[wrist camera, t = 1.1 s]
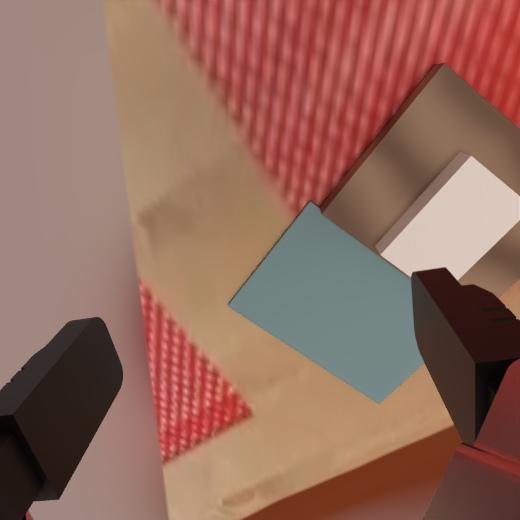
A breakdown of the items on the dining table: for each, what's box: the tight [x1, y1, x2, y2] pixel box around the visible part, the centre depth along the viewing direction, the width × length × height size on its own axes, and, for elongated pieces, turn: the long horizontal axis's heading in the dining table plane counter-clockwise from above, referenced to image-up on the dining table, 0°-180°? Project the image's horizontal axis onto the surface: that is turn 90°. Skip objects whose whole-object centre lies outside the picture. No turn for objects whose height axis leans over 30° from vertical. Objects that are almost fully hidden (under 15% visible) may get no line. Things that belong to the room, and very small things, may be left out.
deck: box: [320, 63, 520, 298], centre depth 32 cm, size 13×16×2 cm
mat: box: [228, 201, 424, 404], centre depth 37 cm, size 12×18×1 cm, turn 54°
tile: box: [375, 152, 520, 281], centre depth 31 cm, size 9×6×2 cm, turn 144°
